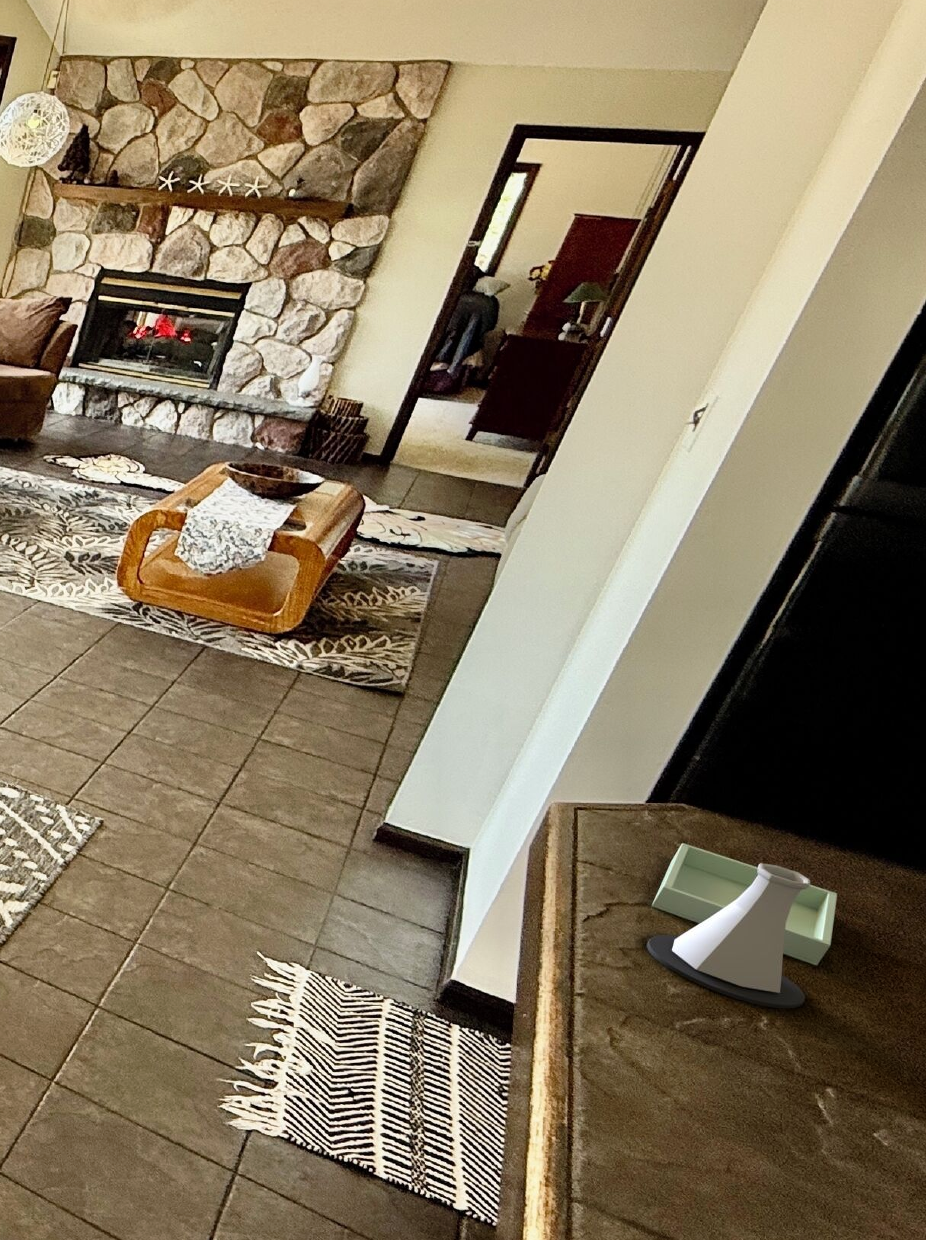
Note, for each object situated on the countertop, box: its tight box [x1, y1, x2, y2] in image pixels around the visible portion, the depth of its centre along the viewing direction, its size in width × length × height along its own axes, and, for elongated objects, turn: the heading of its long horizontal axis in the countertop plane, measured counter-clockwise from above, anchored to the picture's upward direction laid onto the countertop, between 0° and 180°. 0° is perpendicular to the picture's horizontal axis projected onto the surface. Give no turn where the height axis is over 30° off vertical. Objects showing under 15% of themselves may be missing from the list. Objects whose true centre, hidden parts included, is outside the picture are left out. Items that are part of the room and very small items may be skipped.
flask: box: [672, 863, 811, 993], centre depth 100 cm, size 7×7×10 cm
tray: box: [651, 843, 838, 966], centre depth 112 cm, size 15×11×2 cm
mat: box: [646, 934, 806, 1010], centre depth 102 cm, size 10×10×1 cm
